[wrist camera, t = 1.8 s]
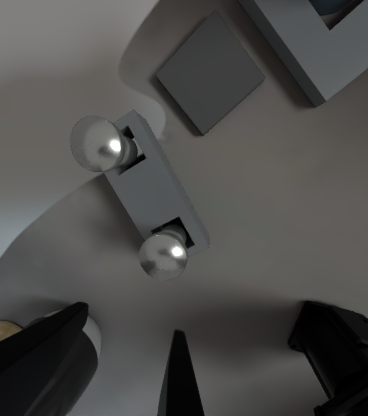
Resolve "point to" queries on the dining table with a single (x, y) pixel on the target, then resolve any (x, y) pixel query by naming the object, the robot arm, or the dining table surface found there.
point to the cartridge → (328, 5)
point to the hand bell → (8, 329)
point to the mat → (210, 74)
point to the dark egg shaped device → (69, 373)
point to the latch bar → (154, 188)
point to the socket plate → (313, 44)
